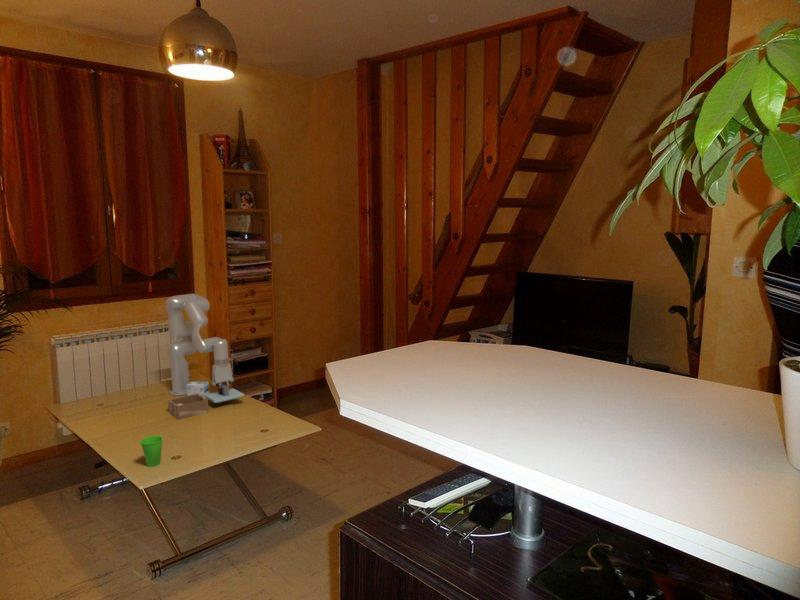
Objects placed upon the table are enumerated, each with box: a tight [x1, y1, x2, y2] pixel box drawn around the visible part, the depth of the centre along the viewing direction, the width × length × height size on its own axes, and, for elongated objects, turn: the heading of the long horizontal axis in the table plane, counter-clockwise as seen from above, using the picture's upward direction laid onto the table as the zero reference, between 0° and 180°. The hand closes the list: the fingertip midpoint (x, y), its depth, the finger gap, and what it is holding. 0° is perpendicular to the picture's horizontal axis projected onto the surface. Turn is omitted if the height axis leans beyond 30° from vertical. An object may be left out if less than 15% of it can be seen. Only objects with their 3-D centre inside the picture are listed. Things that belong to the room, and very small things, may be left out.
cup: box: [139, 435, 164, 468], centre depth 233 cm, size 9×9×11 cm
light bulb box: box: [186, 381, 210, 401], centre depth 314 cm, size 11×7×11 cm, turn 84°
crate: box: [167, 394, 210, 421], centre depth 293 cm, size 14×16×8 cm
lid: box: [204, 383, 245, 404], centre depth 306 cm, size 15×17×7 cm
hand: (223, 393), depth 306 cm, fingers closed on lid, 2 cm apart
